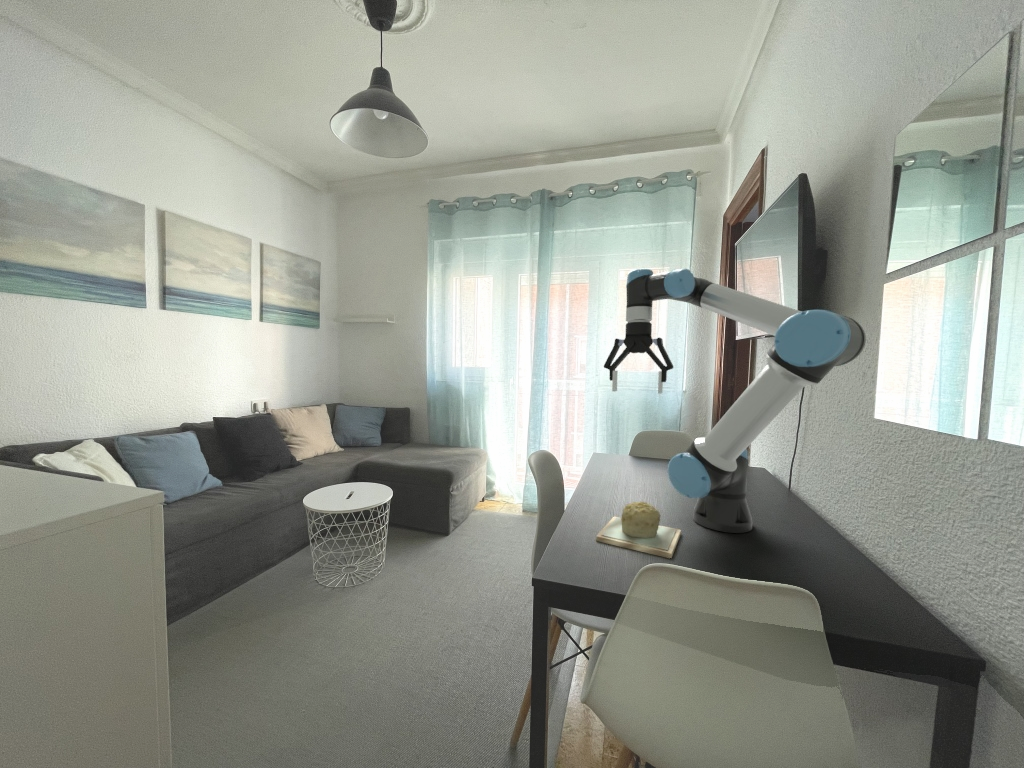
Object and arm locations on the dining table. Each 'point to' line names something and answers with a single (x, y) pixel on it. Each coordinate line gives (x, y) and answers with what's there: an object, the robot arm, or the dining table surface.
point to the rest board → (641, 539)
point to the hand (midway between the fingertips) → (636, 392)
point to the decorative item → (640, 520)
